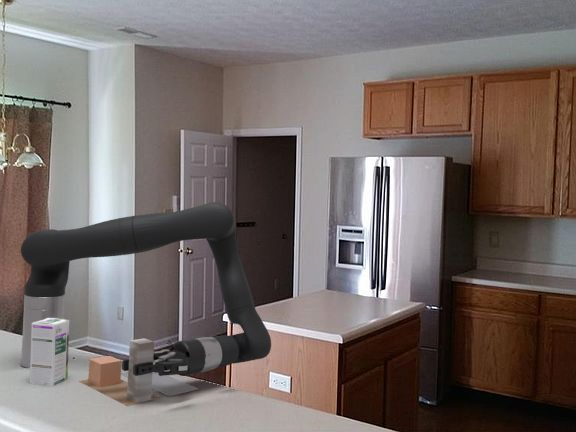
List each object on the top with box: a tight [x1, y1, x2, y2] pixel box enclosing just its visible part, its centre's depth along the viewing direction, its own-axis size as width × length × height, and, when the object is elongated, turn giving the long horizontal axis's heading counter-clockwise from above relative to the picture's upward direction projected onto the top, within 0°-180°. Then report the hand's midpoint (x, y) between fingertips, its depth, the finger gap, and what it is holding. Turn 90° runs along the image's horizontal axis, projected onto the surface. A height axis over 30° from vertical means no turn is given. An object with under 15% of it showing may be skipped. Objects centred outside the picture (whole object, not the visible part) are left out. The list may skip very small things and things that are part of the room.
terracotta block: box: [88, 355, 122, 387], centre depth 131 cm, size 5×5×5 cm
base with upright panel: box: [78, 337, 161, 407], centre depth 126 cm, size 20×8×13 cm, turn 46°
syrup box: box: [29, 318, 70, 387], centre depth 130 cm, size 6×6×14 cm
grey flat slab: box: [121, 371, 199, 397], centre depth 134 cm, size 20×8×2 cm, turn 46°
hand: (128, 368), depth 119 cm, fingers closed on base with upright panel, 3 cm apart
